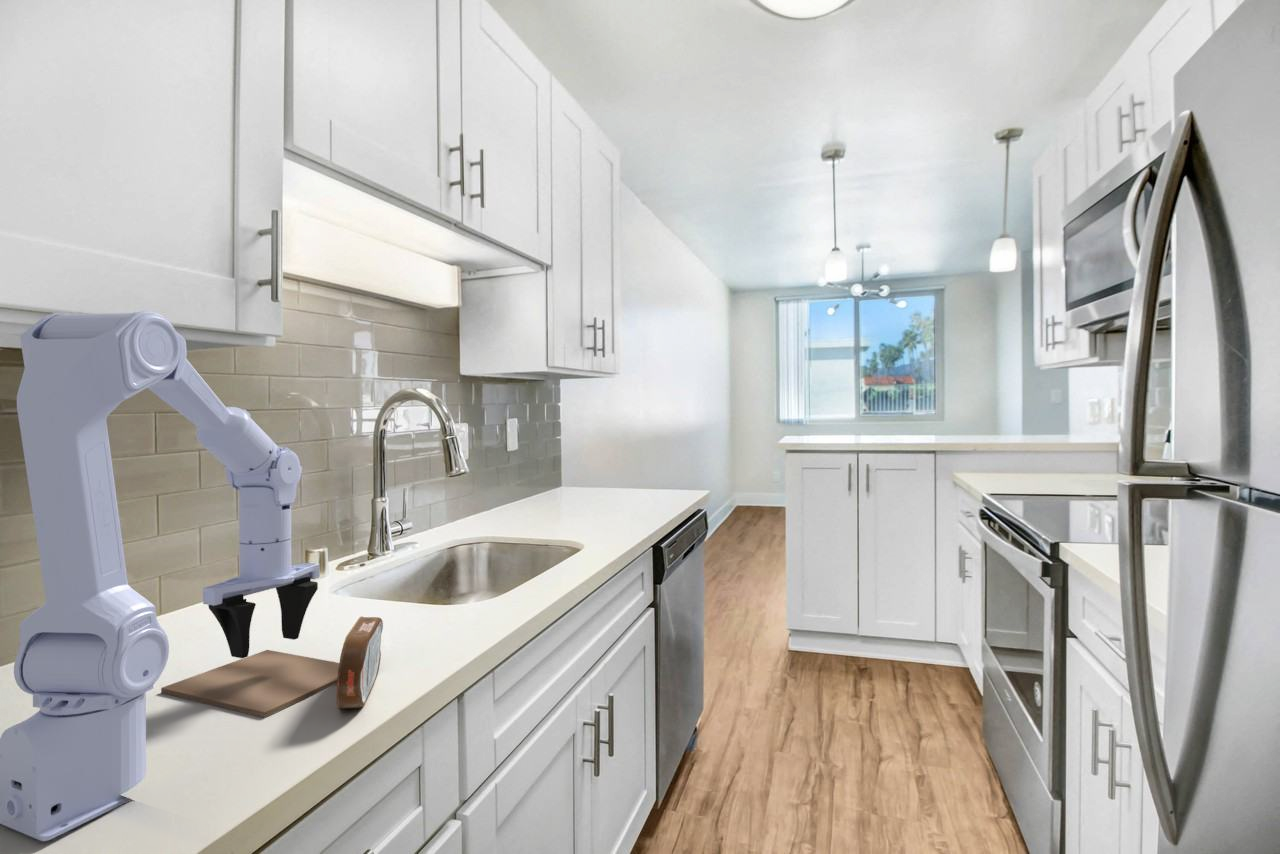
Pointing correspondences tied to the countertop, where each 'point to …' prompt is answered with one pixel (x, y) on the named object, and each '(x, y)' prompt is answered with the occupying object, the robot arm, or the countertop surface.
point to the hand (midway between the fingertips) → (266, 646)
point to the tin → (359, 663)
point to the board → (259, 683)
